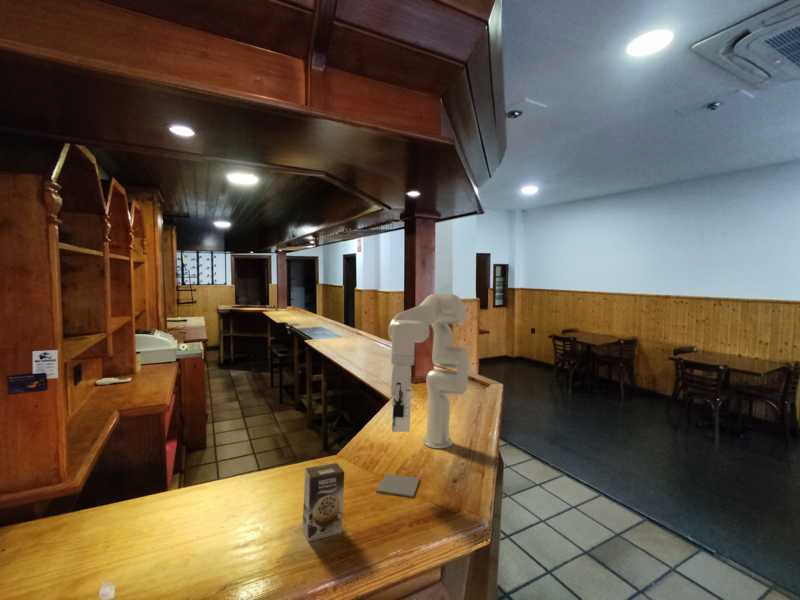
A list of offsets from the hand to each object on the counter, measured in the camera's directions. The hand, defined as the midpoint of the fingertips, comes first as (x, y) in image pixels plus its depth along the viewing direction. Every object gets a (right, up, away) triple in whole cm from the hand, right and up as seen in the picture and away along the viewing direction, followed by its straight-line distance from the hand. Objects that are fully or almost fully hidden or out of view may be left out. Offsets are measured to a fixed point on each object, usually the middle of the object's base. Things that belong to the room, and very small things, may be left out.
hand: (401, 413), depth 124 cm
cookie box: (-21, -23, -25) cm, 40 cm away
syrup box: (0, -5, 0) cm, 5 cm away
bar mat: (-1, -24, 0) cm, 24 cm away
